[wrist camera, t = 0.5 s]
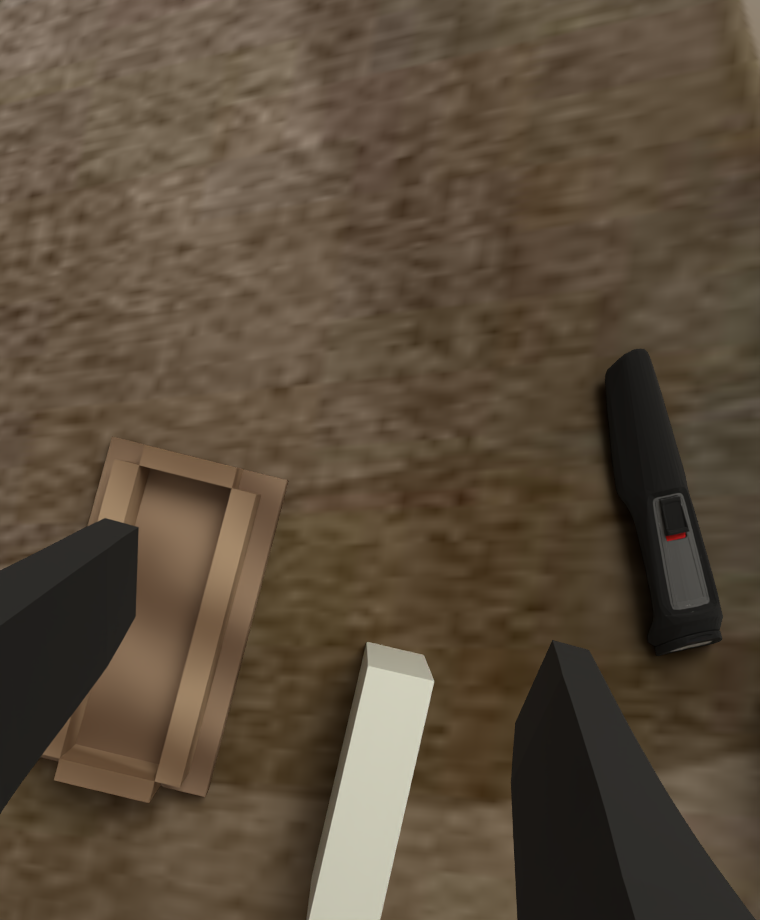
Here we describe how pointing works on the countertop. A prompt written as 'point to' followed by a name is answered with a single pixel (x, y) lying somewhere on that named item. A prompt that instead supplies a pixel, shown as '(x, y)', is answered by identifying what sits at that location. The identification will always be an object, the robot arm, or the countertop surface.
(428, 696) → the clay strip
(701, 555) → the electric trimmer
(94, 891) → the countertop surface
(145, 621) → the tray
